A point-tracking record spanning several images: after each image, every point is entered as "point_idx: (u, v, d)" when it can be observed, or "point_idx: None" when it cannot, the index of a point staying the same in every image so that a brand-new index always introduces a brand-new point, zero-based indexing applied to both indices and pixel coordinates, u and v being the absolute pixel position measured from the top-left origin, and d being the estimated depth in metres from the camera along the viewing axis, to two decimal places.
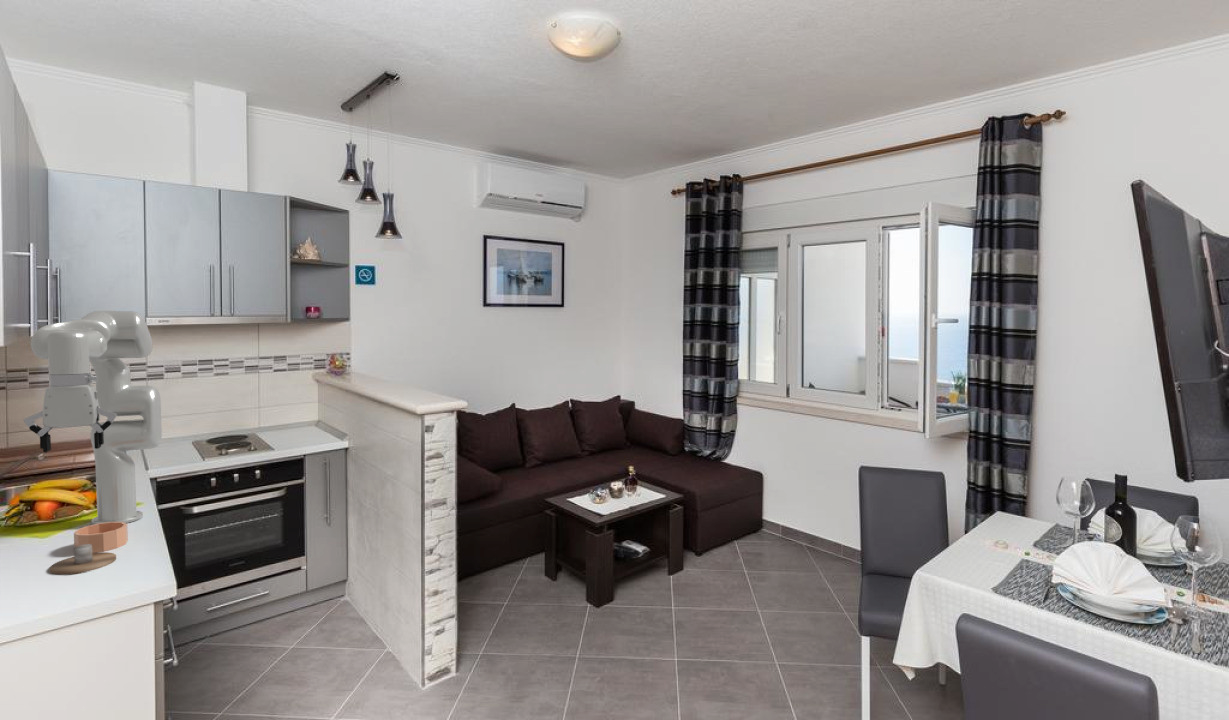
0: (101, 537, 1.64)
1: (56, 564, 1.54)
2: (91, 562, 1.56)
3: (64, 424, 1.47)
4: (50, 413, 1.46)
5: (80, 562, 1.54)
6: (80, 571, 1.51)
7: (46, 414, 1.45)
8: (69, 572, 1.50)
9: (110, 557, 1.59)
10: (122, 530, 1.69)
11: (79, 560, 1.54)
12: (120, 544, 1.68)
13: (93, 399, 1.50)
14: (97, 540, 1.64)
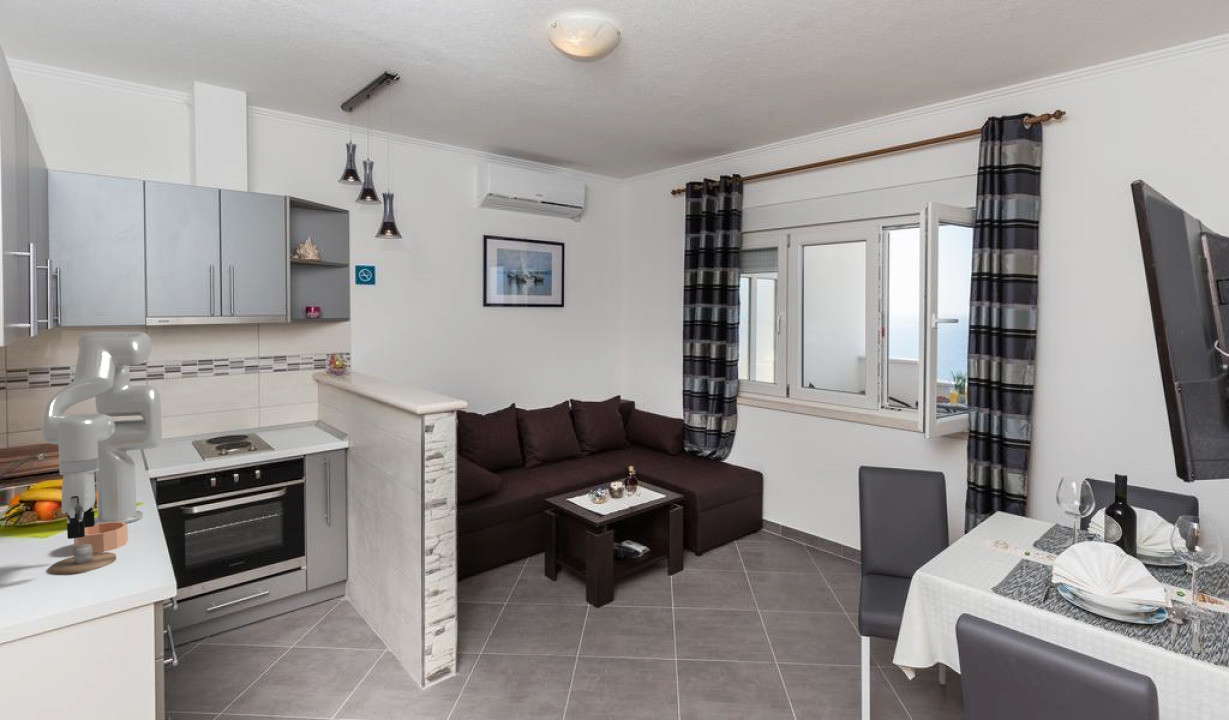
0: (101, 537, 1.64)
1: (56, 564, 1.54)
2: (91, 562, 1.56)
3: (90, 506, 1.55)
4: (88, 497, 1.53)
5: (80, 562, 1.54)
6: (80, 571, 1.51)
7: (86, 498, 1.52)
8: (69, 572, 1.50)
9: (110, 557, 1.59)
10: (122, 530, 1.69)
11: (79, 560, 1.54)
12: (120, 544, 1.68)
13: None
14: (97, 540, 1.64)
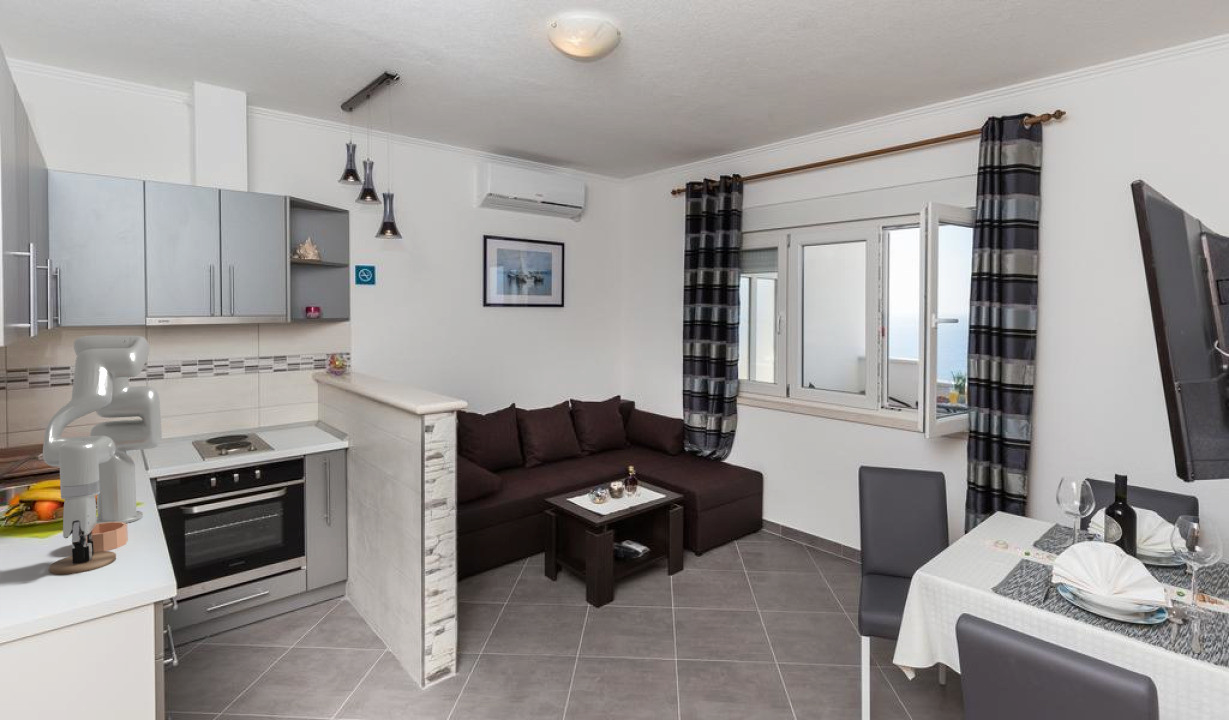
0: (101, 537, 1.64)
1: (56, 563, 1.54)
2: (91, 561, 1.56)
3: (91, 529, 1.56)
4: (89, 521, 1.53)
5: None
6: (80, 570, 1.51)
7: (87, 522, 1.53)
8: (69, 571, 1.50)
9: (110, 556, 1.59)
10: (122, 530, 1.69)
11: None
12: (120, 544, 1.68)
13: None
14: (97, 540, 1.64)
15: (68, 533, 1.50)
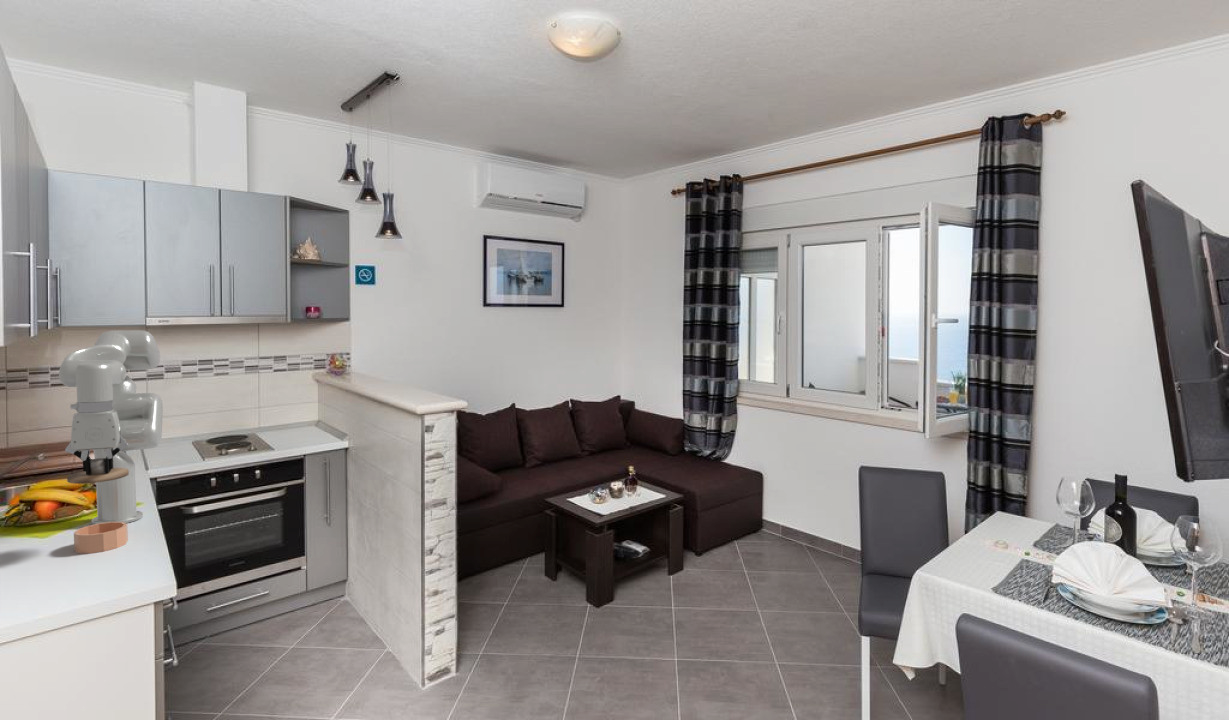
0: (101, 537, 1.64)
1: (88, 479, 1.62)
2: None
3: None
4: None
5: None
6: (128, 471, 1.71)
7: None
8: (126, 473, 1.69)
9: None
10: (122, 530, 1.69)
11: None
12: (120, 544, 1.68)
13: None
14: (97, 540, 1.64)
15: (119, 441, 1.68)
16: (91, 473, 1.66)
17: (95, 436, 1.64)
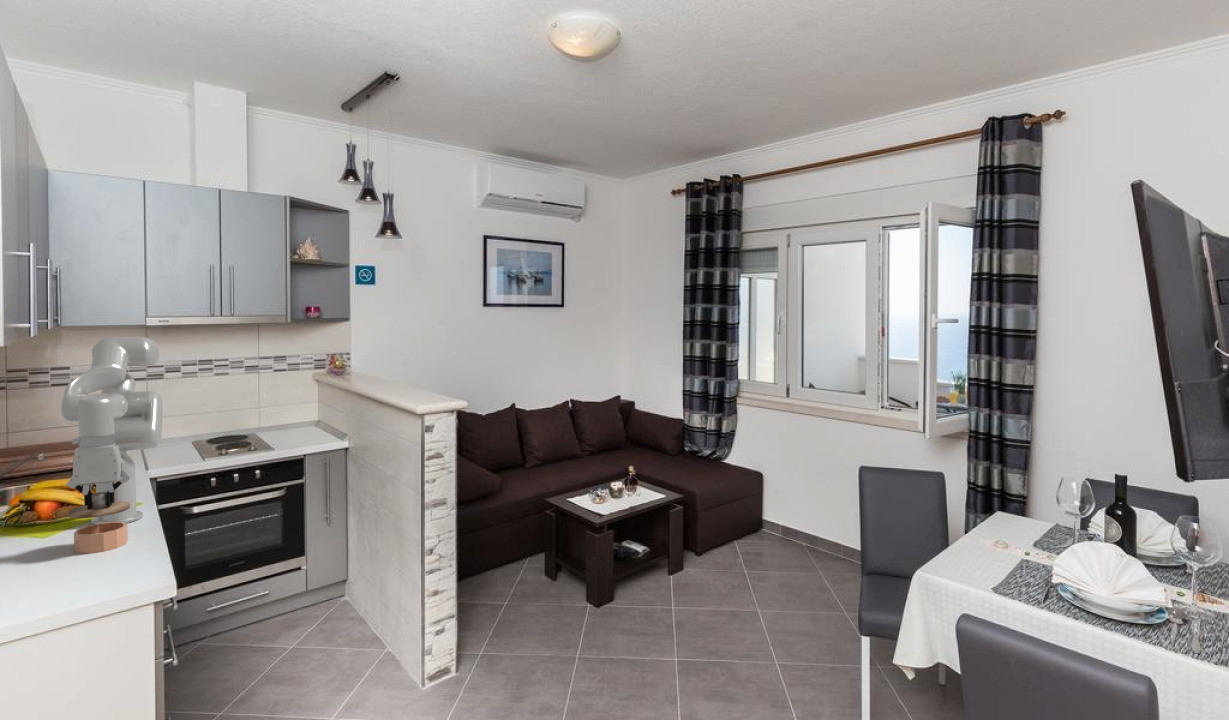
0: (101, 537, 1.64)
1: (89, 513, 1.62)
2: None
3: None
4: None
5: None
6: (129, 504, 1.72)
7: None
8: (127, 506, 1.70)
9: None
10: (122, 530, 1.69)
11: None
12: (120, 544, 1.68)
13: None
14: (97, 540, 1.64)
15: (120, 474, 1.69)
16: (92, 507, 1.66)
17: (97, 470, 1.65)
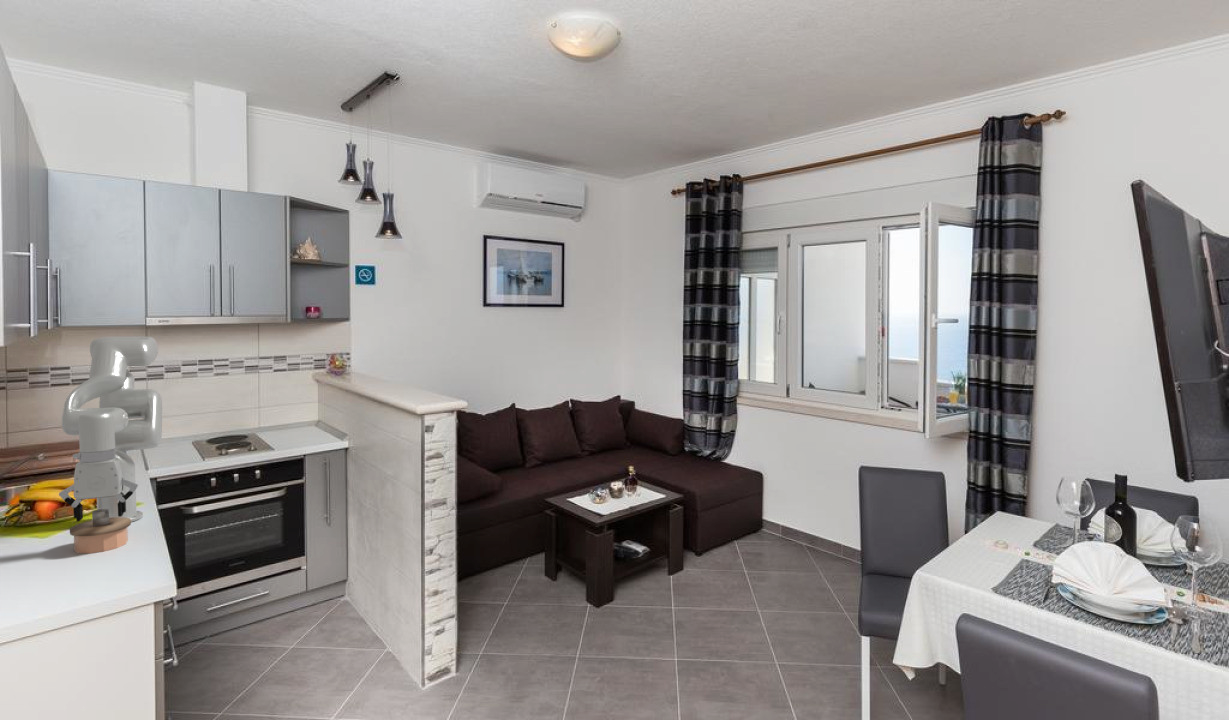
0: (101, 537, 1.64)
1: (90, 531, 1.63)
2: (109, 521, 1.71)
3: None
4: None
5: (108, 522, 1.69)
6: (130, 521, 1.72)
7: None
8: (128, 523, 1.70)
9: None
10: (122, 530, 1.69)
11: (108, 520, 1.69)
12: (120, 544, 1.68)
13: None
14: (97, 540, 1.64)
15: (121, 489, 1.69)
16: (93, 524, 1.67)
17: (97, 485, 1.65)
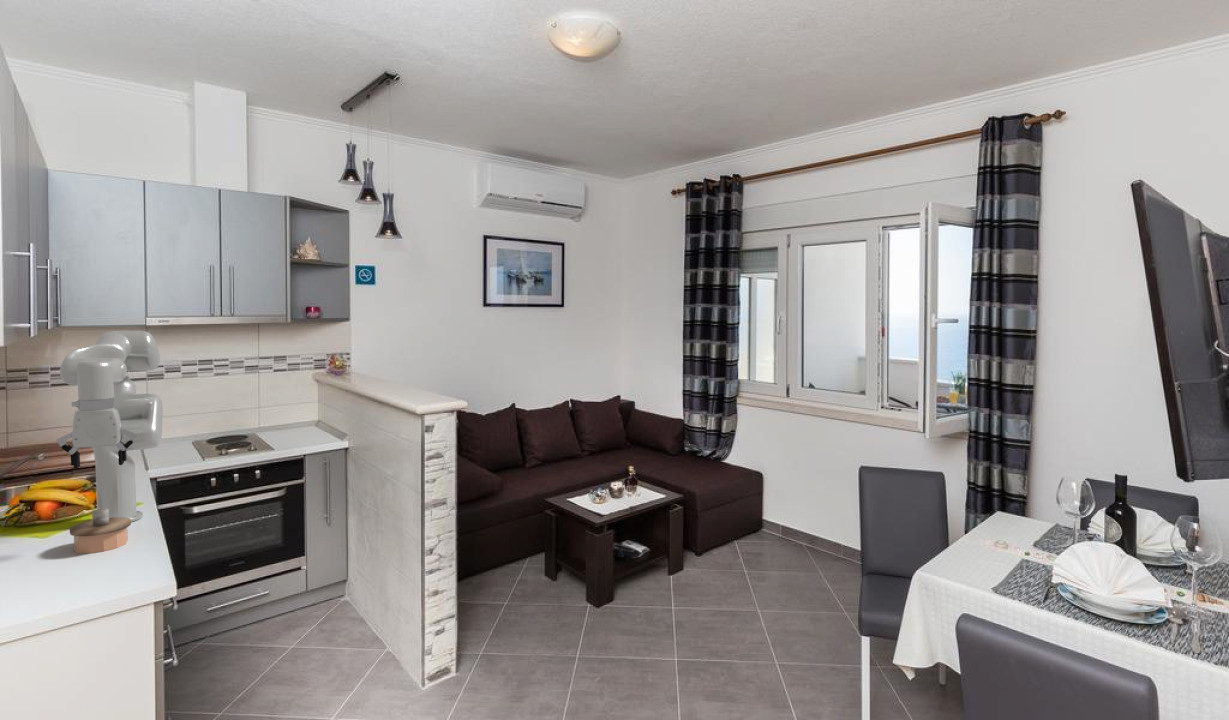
0: (101, 537, 1.64)
1: (90, 531, 1.63)
2: (109, 521, 1.71)
3: None
4: None
5: (108, 522, 1.69)
6: (130, 521, 1.72)
7: None
8: (128, 523, 1.70)
9: None
10: (122, 530, 1.69)
11: (108, 520, 1.69)
12: (120, 544, 1.68)
13: None
14: (97, 540, 1.64)
15: (120, 438, 1.69)
16: (93, 524, 1.67)
17: (96, 433, 1.65)
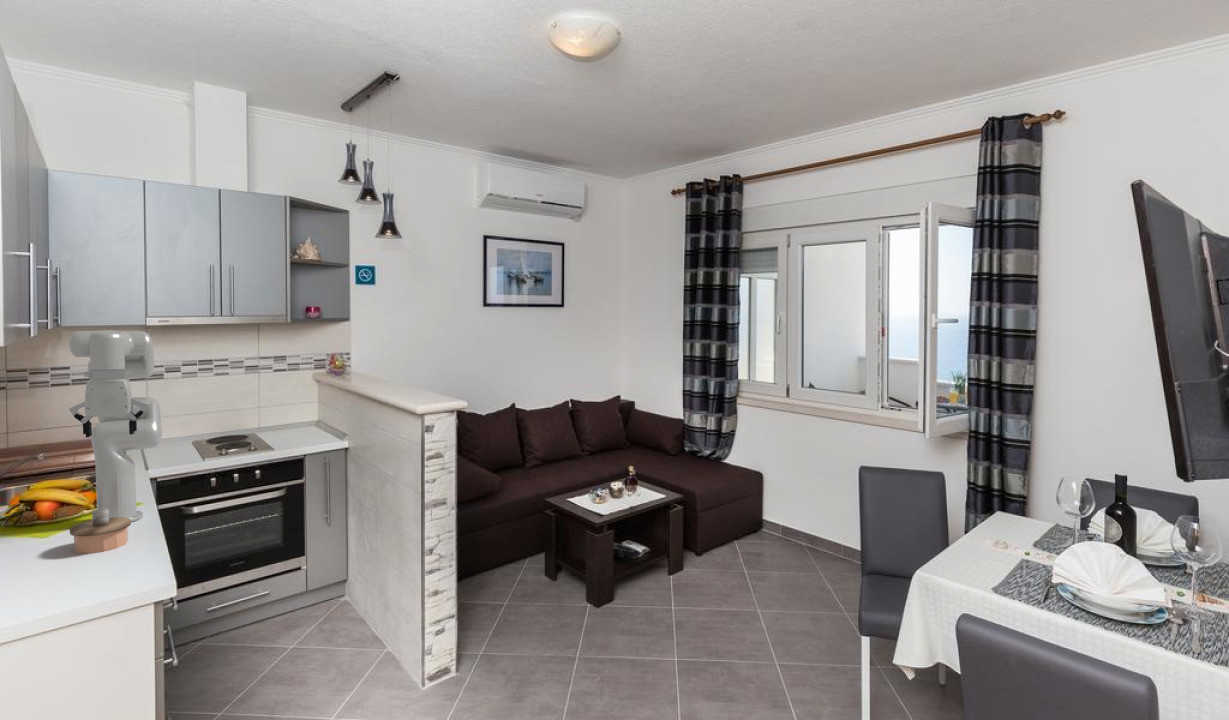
0: (101, 537, 1.64)
1: (90, 531, 1.63)
2: (109, 521, 1.71)
3: None
4: None
5: (108, 522, 1.69)
6: (130, 521, 1.72)
7: None
8: (128, 523, 1.70)
9: None
10: (122, 530, 1.69)
11: (108, 520, 1.69)
12: (120, 544, 1.68)
13: None
14: (97, 540, 1.64)
15: (131, 408, 1.73)
16: (93, 524, 1.67)
17: (108, 403, 1.69)
